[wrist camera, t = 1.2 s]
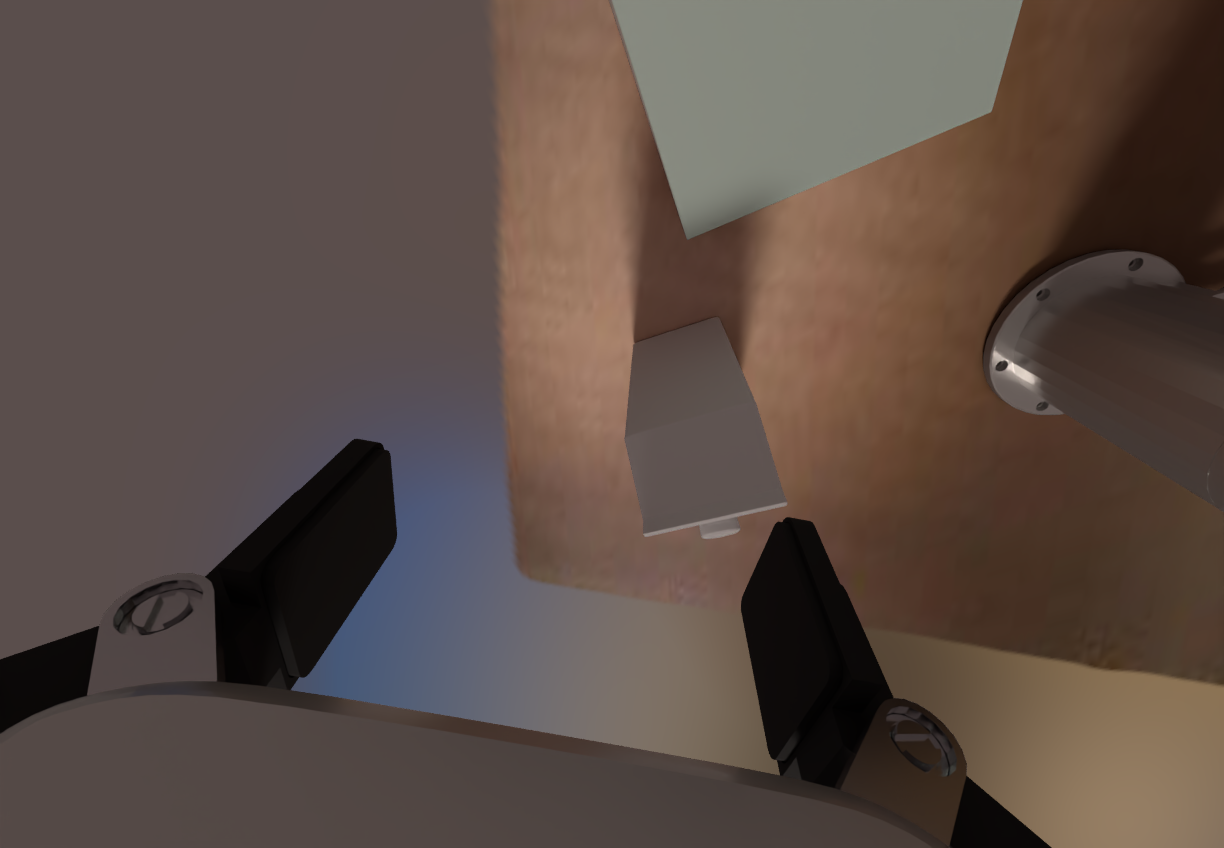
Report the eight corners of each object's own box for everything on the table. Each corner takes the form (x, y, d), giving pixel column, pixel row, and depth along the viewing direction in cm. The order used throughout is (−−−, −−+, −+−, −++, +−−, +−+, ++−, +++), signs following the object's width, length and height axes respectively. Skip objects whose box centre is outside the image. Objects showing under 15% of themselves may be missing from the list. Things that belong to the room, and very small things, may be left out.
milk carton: (632, 342, 39) (619, 480, 22) (718, 315, 37) (773, 441, 20) (658, 415, 42) (664, 583, 25) (738, 392, 40) (800, 556, 24)
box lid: (1165, -574, 11) (1186, -582, 11) (984, 106, 24) (991, 111, 23) (562, -158, 15) (563, -155, 15) (684, 233, 28) (687, 240, 27)
